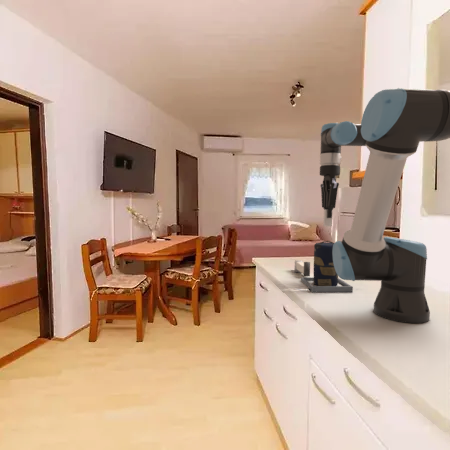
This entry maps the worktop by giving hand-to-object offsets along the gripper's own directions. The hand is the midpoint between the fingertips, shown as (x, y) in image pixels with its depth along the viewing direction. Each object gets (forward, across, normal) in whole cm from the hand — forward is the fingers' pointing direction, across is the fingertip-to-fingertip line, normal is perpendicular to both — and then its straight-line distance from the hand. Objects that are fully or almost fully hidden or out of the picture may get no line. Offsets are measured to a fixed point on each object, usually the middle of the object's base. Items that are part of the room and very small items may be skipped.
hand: (327, 226), depth 129 cm
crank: (+23, +18, +4) cm, 30 cm away
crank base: (+24, +24, +4) cm, 34 cm away
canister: (+24, 0, 0) cm, 24 cm away
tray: (+24, 0, 0) cm, 24 cm away
